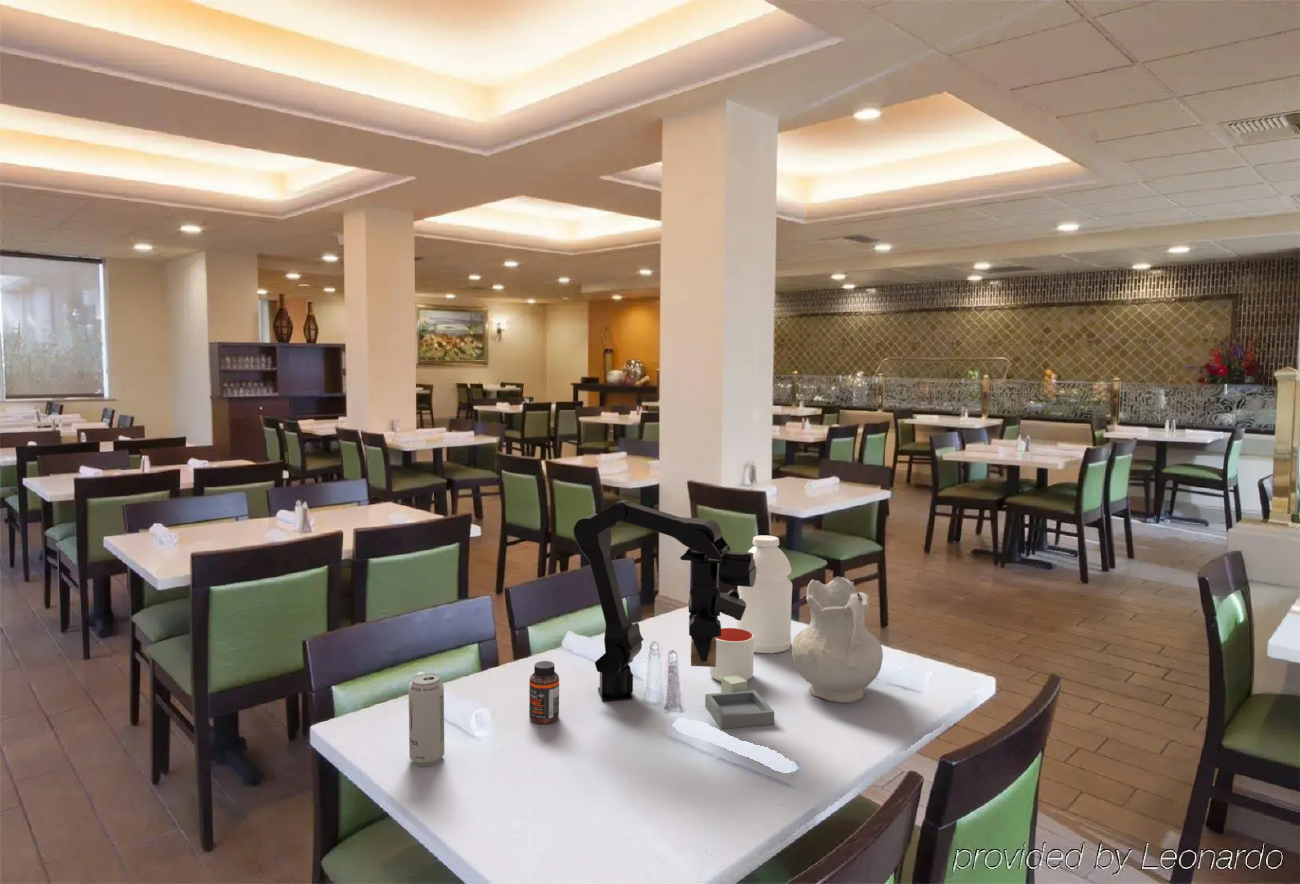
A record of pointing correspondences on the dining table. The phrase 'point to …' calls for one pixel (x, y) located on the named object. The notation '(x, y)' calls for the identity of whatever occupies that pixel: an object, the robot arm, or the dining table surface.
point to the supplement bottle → (544, 693)
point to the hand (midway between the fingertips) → (703, 656)
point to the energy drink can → (426, 719)
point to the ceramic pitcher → (837, 643)
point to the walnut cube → (711, 655)
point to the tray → (739, 709)
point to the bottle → (768, 598)
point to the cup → (734, 654)
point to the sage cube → (733, 684)
